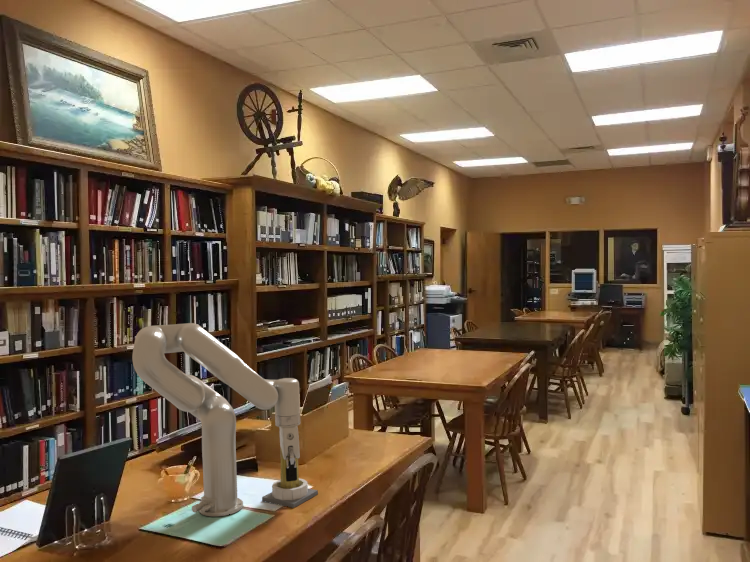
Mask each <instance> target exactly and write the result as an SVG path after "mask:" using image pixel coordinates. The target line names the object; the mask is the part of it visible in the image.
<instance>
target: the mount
mask: <svg viewBox="0 0 750 562" xmlns="http://www.w3.org/2000/svg"><path fill="white" fill-rule="evenodd" d="M280 487H281V479H279V480H277V481H275V482H273V484H272V486H271V489H272V491H271V492H269V493H267V494H266V495H263V496H262V497H261V499H262V500H261V501H262V502H264V501H266V502H265V503H269V502H271V503H270V504H274V503H275V505H278V504H279V505H278V506H283V507H287V506H288V507H289V508H294V507H295V508H296V507H298V506H300V505H301V504H303V503H305V502H308V501H309V500H310V499H313V498H314V497H316V496H318V494H319V490H317V489H312V488H308V481H307V480H306V479H304V478H301V477H299V487H297V488H292V489H283V488H280ZM295 508H294V509H295Z"/></svg>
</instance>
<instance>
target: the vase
mask: <svg viewBox="0 0 750 562" xmlns="http://www.w3.org/2000/svg"><path fill="white" fill-rule="evenodd" d="M279 451H280V480H281V487H280V488H283V489H292V488H297V487H299V478H300V477H299V476H300V475H299V459H297V458H296V456H295V459H296V467H297V480H296V481H288V482H287V481H286V468H287V465H286V460H284V459H283V455H282V450H281V447H280V449H279ZM288 451H289V450H288ZM288 462H289V461H288Z"/></svg>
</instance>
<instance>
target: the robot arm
mask: <svg viewBox="0 0 750 562" xmlns="http://www.w3.org/2000/svg"><path fill="white" fill-rule="evenodd" d="M132 348H133V349H132V358H131V359H132V364H133V368H134V371H135V373H136V374H137V376H138V377H139V378H140V379H141V380H142V381H143V382H144V383H145V384H147V385H148V386H149V387H150V388H152V389H153V390H154V391H155V392H157V393H158V394H159V395H160V396H161V397H163V398H164V399H166V400H167V401H168V402H170V403H171V404H172V405H173V406H174V407H176V408H177V409H178V410H179V411H182V412H185V413H189V414H191V415H192V416H193V417H194V418H196V419H198V420H199V421H200V423H201V453H202V454H201V457H202V474H203V475H202V476H203V477H202V479H203V496H201V498H200V500H201V501H199V502H198V503H196V504H194V505H192V506H191V511H192V513H197V512H199V514H200V515H202V516H206V517H212V518H213V517H223V516H224V517H225V516H229V514H230V515H232V514H235V513H237V512H239V511H240V510H242V509H243V507H244V501H243V500H242V499H240V498H238V477H237V475H238V474H237V452H236V451H237V450H236V449H237V448H236V443H237V441H236V436H237V435H236V434H237V433H236V432H237V417H236V413H235V410H234V408H233V406H232V405H231V404H230V403H229V402H228V401H229V400H227V399H226V398H225V397H224V396H223V395H221V394H219V393H218V391H215V390H214V388H211V386H209V385H208V384H207V383H205V382H203V381H202V380H201V379H200V378H198V377H197V376H195V375H191V374H186V373H184V371H182V370H180V369H179V368H178V367H177V366H175V365H174V364H173V363H172V362H170V361H169V360H168V359H167V358H166V355H165V354H170V353H171V354H172V353H181V352H184V353H185V355H187V356H189V357H190V358H191V359H192V360H194V361H195V362H196V363H198V364H199V365H200V366H202V367H203V368H205V370H207V371H208V372H209V373H211V374H212V375H213V376H214V377H216V378H217V379H218V380H220V381H221V382H222V383H223V384H226V385H227V386H228V387H230V388H231V389H232V390H233V391H235V392H236V393H238V394H239V395H241V396H242V397H243V398H244V399H245V400H246V401H248V402H249V403H251V404H252V405H253V406H255V408H257V409H259V410H261V411H268V410H271V409H272V408H273V407H274V413H275V414H274V417H275V418H274V419H275V422H274V423H275V427H277V428H279V443H280V444H279V446H280V447H281V450H282V455H283V459H284V460H286V465H287V468H286V481H287V482H288V481H296V480H297V467H296V459H295V456H296V458H297V459H298V460H299V459H300V457H301V456H300V455H301V454H300V440H299V438H300V437H299V428H298V426H300V425H301V402H300V401H301V400H300V397H301V396H300V382H299V380H298V379H296V378H294V377H283V378H278V379H265V378H264V377H262V376H261V375H259V374H258V373H257V372H256V371H254V370H253V369H252V368H251V367H250V366H249V365H247V363H245V362H244V360H242V359H241V357H240V356H238V355H237V353H235V352H234V351H233V350H231V349H230V348H229V347H228V346H226V345H225V344H223V343H222V342H221V341H220V340H218V339H217V338H216V337H215V336H213V335H212V334H211V333H209V332H208V331H207V330H205V329H204V328H203V327H202V326H201V325H200V324H197V323H194V322H188V323H177V324H176V323H175V324H161V325H160V324H159V325H157V324H156V325H149V326H145V327H143V328H140V330H139V331H138V332H137V334H136V335H135V339H134V344H133V347H132ZM288 450H289V451H288ZM288 461H289V462H288Z"/></svg>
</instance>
